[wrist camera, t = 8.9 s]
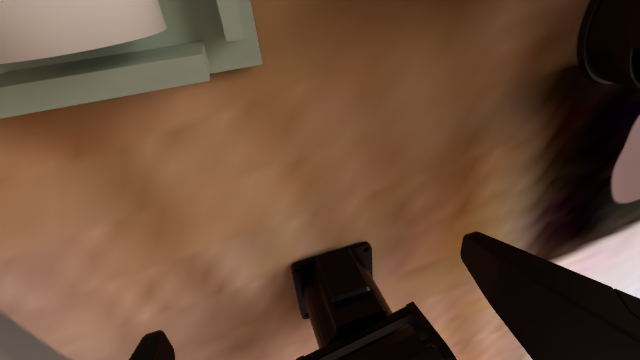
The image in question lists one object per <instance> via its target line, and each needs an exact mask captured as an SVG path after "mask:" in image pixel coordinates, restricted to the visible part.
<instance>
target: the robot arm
mask: <svg viewBox="0 0 640 360" xmlns="http://www.w3.org/2000/svg"><path fill="white" fill-rule="evenodd" d="M364 248H365V249H364ZM460 254H461V259H462V261H463V263H464V264H465V266H466V267H467V269H468V270H469V272H470V274H471V275H472V277H473V278H474V280H475V282H476V283H477V285H478V286H479V288H480V290H481V291H482V293H483V294H484V296H485V297H486V299H487V300H488V302H489V303H490V305H491V306H492V307H493V309H494V310H495V311H496V313H497V314H498V315H499V317H500V318H501V319H502V321H503V322H504V323H505V324H506V326H507V327H508V328H509V330H510V331H511V332H512V333H513V335H514V336H515V337H516V339H517V340H518V341H519V343H520V344H521V345H522V346H523V348H524V349H525V350H526V352H527V353H528V354H529V355H530V357H531V358H532V359H533V360H640V299H639V298H637V297H634V296H632V295H629V294H627V293H625V292H622V291H620V290H617V289H613V288H612V287H610V286H608V285H605V284H603V283H600V282H598V281H596V280H593V279H591V278H588V277H586V276H584V275H581V274H579V273H576V272H574V271H572V270H569V269H567V268H564V267H562V266H560V265H557V264H555V263H552V262H550V261H548V260H545V259H543V258H540V257H538V256H535V255H533V254H531V253H528V252H526V251H523V250H521V249H519V248H516V247H514V246H511V245H509V244H507V243H504V242H502V241H499V240H497V239H495V238H492V237H490V236H487V235H485V234H483V233H480V232H472V233H469V234H466V235H464V237H463V241H462V247H461V253H460ZM297 268H299V269H297ZM291 270H292V275H293V279H294V284H295V288H296V293H297V298H298V302H299V307H300V311H301V315H302V318H303V319H309V318H310V321H311V324H312V327H313V330H314V334H315V337H316V340H317V343H318V346H319V349H318V350H316V351H314V352H312V353H310V354H308V355H306V356H304V355H303V356H301V357H299V358H297V359H296V360H457V359H456V357H455V356H454V354H453V353H452V351H451V350H450V348H449V347H448V345H447V344H446V343H445V341H444V340H443V339H442V338H441V336H440V335H439V334H438V333H437V331H436V330H435V329H434V328H433V326H432V325H431V324H430V322H429V321H428V320H427V319H426V317H425V316H424V315H423V314H422V312H421V311H420V310H419V309H418V307H417V306H416V305H415V304H414V302H411V303H409V304H407V305H406V307H404V308H402V309H400V310H398V311H396V312H394V313H392V311H391V310H390V308H389V306H388V304H387V303H386V301H385V299H384V297H383V296H382V294H381V292H380V290H379V288H378V287H377V285H376V283H375V281H374V280H373V277H372V248H371V245H370V244H369V243H368V242H362V243H359V244H355V245H352V246H349V247H345V248H342V249H338V250H335V251H332V252H328V253H325V254H322V255H318V256H315V257H312V258H308V259H305V260H301V261H298V262H295V263H294V264H292V266H291ZM129 360H175V353H174V349H173V347H172V345H171V343H170V342H169V340H168V338H167V337H166V335H165V333H164V332H163V331H162V330H158V331H155V332H152V333H148V334H146V335H145V336H144V337H143V338H142V339H141V341H140V343H139V344H138V346H137V348H136V349H135V351H134V352H133V354H132V356H131V357H130V359H129Z"/></svg>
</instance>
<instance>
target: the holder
mask: <svg viewBox="0 0 640 360" xmlns="http://www.w3.org/2000/svg"><path fill="white" fill-rule="evenodd" d="M158 2H159V5H160V8H161V11H162V14H163V17H164V21H165V24H166V27H167V29H166V30H164V31H162V32H160V33H157V34H154V35H151V36H148V37H144V38H141V39H137V40H133V41H129V42H125V43H121V44H117V45H112V46H107V47H103V48H98V49H93V50H88V51H83V52H77V53H72V54H66V55H61V56H55V57H48V58H42V59H35V60H29V61H21V62H14V63H5V64H0V119H1V118H7V117H12V116H18V115H23V114H29V113H34V112H40V111H45V110H51V109H57V108H62V107H68V106H73V105H79V104H84V103H90V102H95V101H101V100H106V99H112V98H117V97H123V96H128V95H134V94H139V93H145V92H151V91H156V90H162V89H167V88H173V87H178V86H184V85H189V84H195V83H200V82H206V81H210V74H212V73H217V72H223V71H229V70H234V69H240V68H246V67H251V66H257V65H262V64H263V63H262V58H261V53H260V48H259V42H258V37H257V32H256V27H255V22H254V17H253V11H252V6H251V1H250V0H158Z"/></svg>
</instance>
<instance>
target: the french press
mask: <svg viewBox="0 0 640 360" xmlns="http://www.w3.org/2000/svg"><path fill="white" fill-rule="evenodd" d="M634 48H636V49H640V0H591V2H590V5H589V7H588V9H587V11H586V14H585V17H584V19H583V22H582V25H581V29H580V34H579V39H578V60H579V65H580V67H581V69H582V71H583V73H584V74H585V75H586V76H587V77H588V78H589V79H591V80H593V81H595V82H597V83H603V84H612V83H615V84H619V85H624V86H628V87H632V88H636V89H640V56H639V57H638V58H636V59H635V60H633V61H632V57H633V50H634Z"/></svg>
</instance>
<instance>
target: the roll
mask: <svg viewBox="0 0 640 360" xmlns="http://www.w3.org/2000/svg"><path fill="white" fill-rule="evenodd" d="M166 29H167V27H166V24H165V21H164V17H163V14H162V11H161V8H160V5H159V2H158V0H0V64H5V63H14V62H21V61H29V60H35V59H42V58H48V57H55V56H61V55H66V54H72V53H77V52H83V51H88V50H93V49H98V48H103V47H107V46H112V45H117V44H121V43H125V42H129V41H133V40H137V39H141V38H144V37H148V36H151V35H154V34H157V33H160V32H162V31H164V30H166Z"/></svg>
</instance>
